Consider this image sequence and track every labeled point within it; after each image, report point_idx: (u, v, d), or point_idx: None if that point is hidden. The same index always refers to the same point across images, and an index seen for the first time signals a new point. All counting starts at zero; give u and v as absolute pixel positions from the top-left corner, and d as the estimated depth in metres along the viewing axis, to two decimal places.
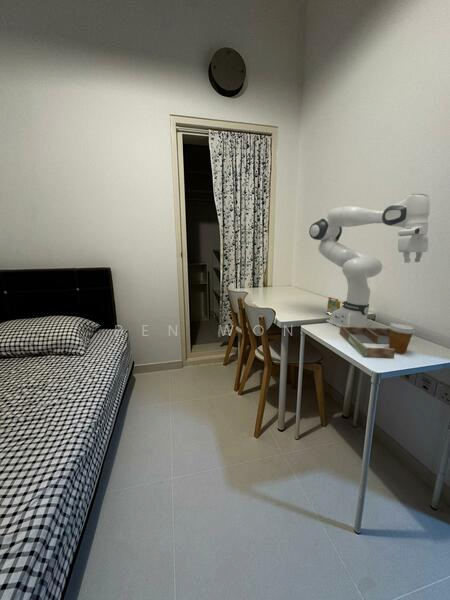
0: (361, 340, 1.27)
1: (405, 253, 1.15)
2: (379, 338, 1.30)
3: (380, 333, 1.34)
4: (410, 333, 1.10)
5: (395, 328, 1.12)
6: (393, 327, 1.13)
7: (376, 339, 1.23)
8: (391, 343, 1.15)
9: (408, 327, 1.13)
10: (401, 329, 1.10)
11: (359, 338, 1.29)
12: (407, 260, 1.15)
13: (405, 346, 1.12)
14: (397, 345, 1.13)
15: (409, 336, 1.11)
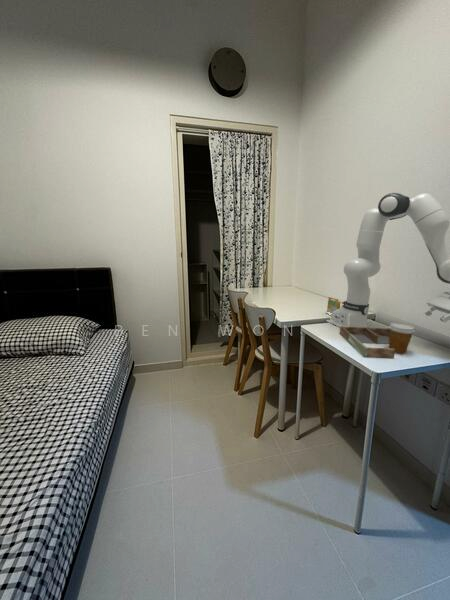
0: (361, 340, 1.27)
1: None
2: (379, 338, 1.30)
3: (380, 333, 1.34)
4: (410, 333, 1.10)
5: (395, 328, 1.12)
6: (393, 327, 1.13)
7: (376, 339, 1.23)
8: (391, 343, 1.15)
9: (408, 327, 1.13)
10: (401, 329, 1.10)
11: (359, 338, 1.29)
12: (446, 320, 1.06)
13: (405, 346, 1.12)
14: (396, 345, 1.13)
15: (409, 336, 1.11)
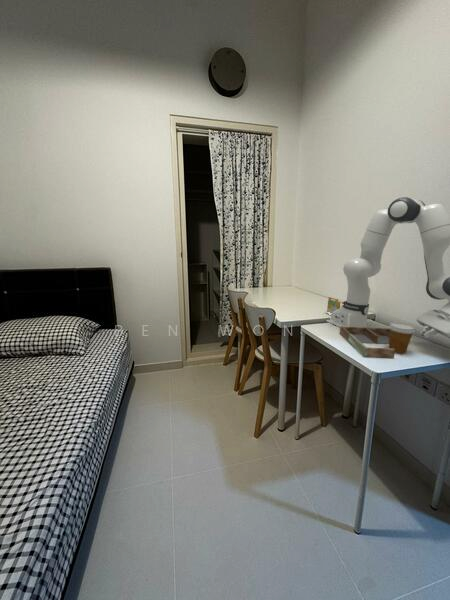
0: (361, 340, 1.27)
1: (435, 331, 1.11)
2: (379, 338, 1.30)
3: (380, 333, 1.34)
4: (410, 333, 1.10)
5: (395, 328, 1.12)
6: (393, 327, 1.13)
7: (376, 339, 1.23)
8: (391, 343, 1.15)
9: (408, 327, 1.13)
10: (401, 329, 1.10)
11: (359, 338, 1.29)
12: (427, 335, 1.12)
13: (405, 346, 1.12)
14: (396, 345, 1.13)
15: (409, 336, 1.11)
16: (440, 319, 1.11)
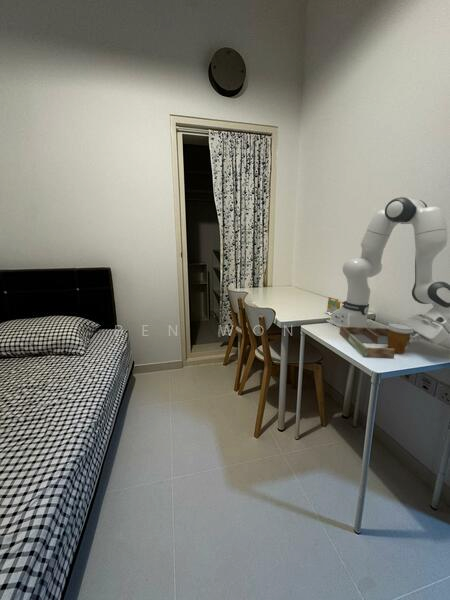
0: (361, 340, 1.27)
1: (419, 336, 1.12)
2: (379, 338, 1.30)
3: (380, 333, 1.34)
4: (408, 333, 1.10)
5: (393, 328, 1.12)
6: (391, 327, 1.13)
7: (376, 339, 1.23)
8: (389, 343, 1.15)
9: (406, 327, 1.13)
10: (399, 329, 1.10)
11: (359, 338, 1.29)
12: (412, 340, 1.13)
13: (403, 346, 1.12)
14: (394, 345, 1.13)
15: (407, 336, 1.11)
16: (424, 324, 1.12)
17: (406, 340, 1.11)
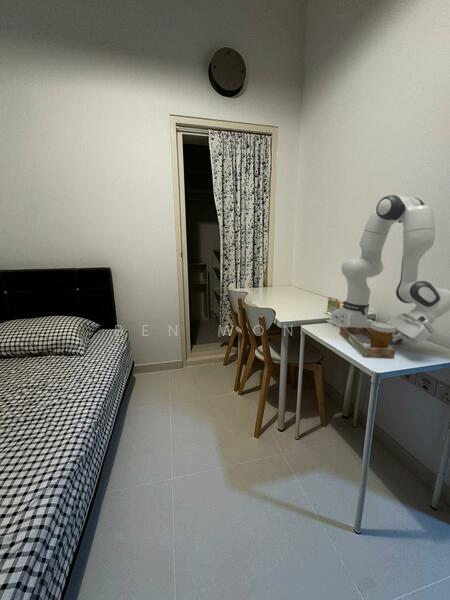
0: (361, 340, 1.27)
1: (402, 335, 1.12)
2: None
3: None
4: (389, 332, 1.10)
5: (375, 327, 1.13)
6: (373, 326, 1.14)
7: None
8: (372, 342, 1.16)
9: (389, 326, 1.13)
10: (380, 328, 1.11)
11: (359, 338, 1.29)
12: (395, 340, 1.14)
13: (385, 345, 1.13)
14: (377, 344, 1.14)
15: (389, 335, 1.11)
16: (407, 323, 1.13)
17: (388, 339, 1.12)
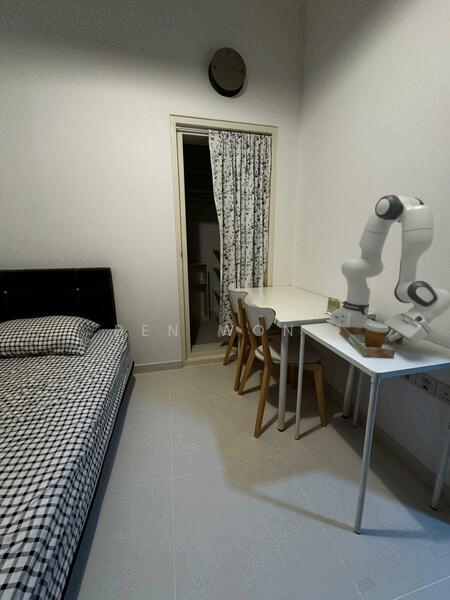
0: (361, 340, 1.27)
1: (399, 335, 1.12)
2: None
3: None
4: (383, 332, 1.10)
5: (368, 326, 1.13)
6: (367, 325, 1.14)
7: None
8: (366, 341, 1.16)
9: (383, 326, 1.13)
10: (374, 327, 1.11)
11: (359, 338, 1.29)
12: (392, 339, 1.14)
13: (379, 345, 1.13)
14: (370, 343, 1.14)
15: (382, 335, 1.11)
16: (404, 323, 1.13)
17: (381, 339, 1.12)
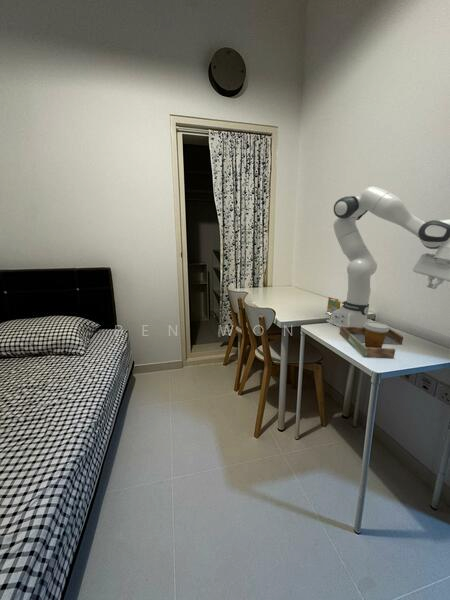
0: (361, 340, 1.27)
1: (441, 280, 1.07)
2: None
3: None
4: (383, 332, 1.10)
5: (368, 326, 1.13)
6: (367, 325, 1.14)
7: None
8: (366, 341, 1.16)
9: (383, 326, 1.13)
10: (374, 328, 1.11)
11: (359, 338, 1.29)
12: (435, 287, 1.09)
13: (379, 345, 1.13)
14: (370, 343, 1.14)
15: (382, 335, 1.11)
16: (441, 266, 1.07)
17: (381, 339, 1.12)
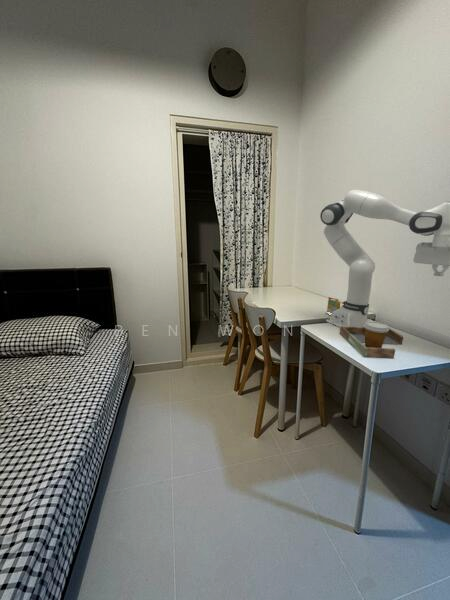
0: (361, 340, 1.27)
1: (447, 267, 1.08)
2: None
3: None
4: (383, 332, 1.10)
5: (368, 326, 1.13)
6: (367, 325, 1.14)
7: None
8: (366, 341, 1.16)
9: (383, 326, 1.13)
10: (374, 328, 1.11)
11: (359, 338, 1.29)
12: (443, 274, 1.10)
13: (379, 345, 1.13)
14: (370, 343, 1.14)
15: (382, 335, 1.11)
16: (442, 253, 1.07)
17: (381, 339, 1.12)
